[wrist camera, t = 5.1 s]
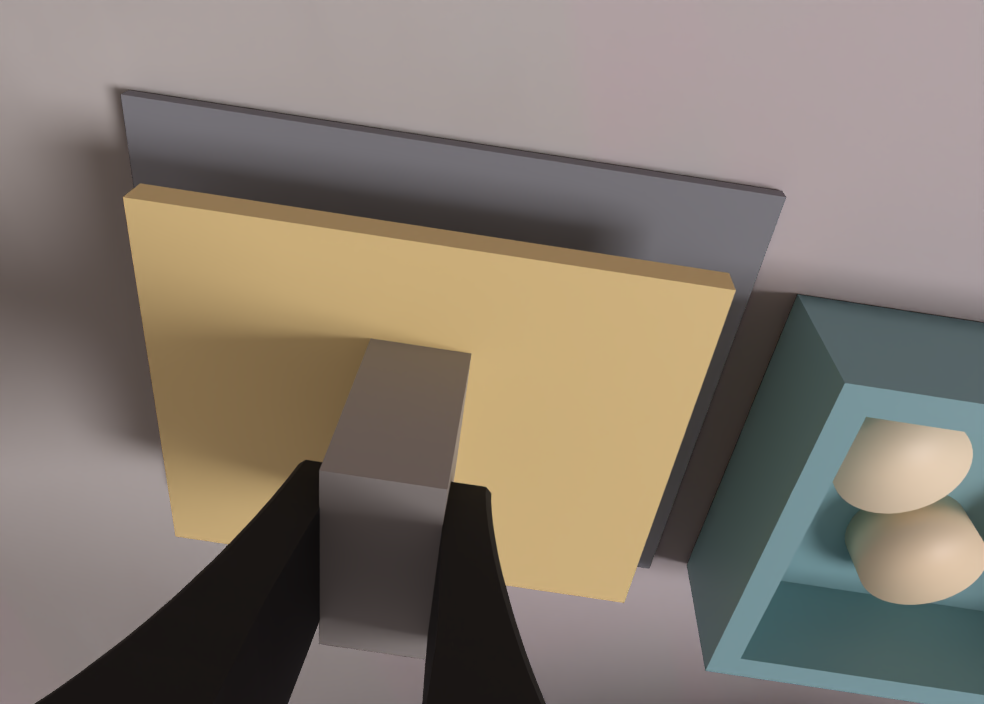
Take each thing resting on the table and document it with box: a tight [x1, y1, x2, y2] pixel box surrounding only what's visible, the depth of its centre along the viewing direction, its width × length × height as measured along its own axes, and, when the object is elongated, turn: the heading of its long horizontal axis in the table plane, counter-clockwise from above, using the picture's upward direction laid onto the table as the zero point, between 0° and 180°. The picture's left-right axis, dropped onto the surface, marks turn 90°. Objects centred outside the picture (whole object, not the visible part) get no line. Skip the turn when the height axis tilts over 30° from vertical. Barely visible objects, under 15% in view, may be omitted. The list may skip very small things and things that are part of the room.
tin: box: [687, 294, 984, 704], centre depth 16 cm, size 10×8×3 cm
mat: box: [121, 90, 786, 568], centre depth 16 cm, size 12×10×1 cm
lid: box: [123, 183, 736, 659], centre depth 13 cm, size 10×8×4 cm
